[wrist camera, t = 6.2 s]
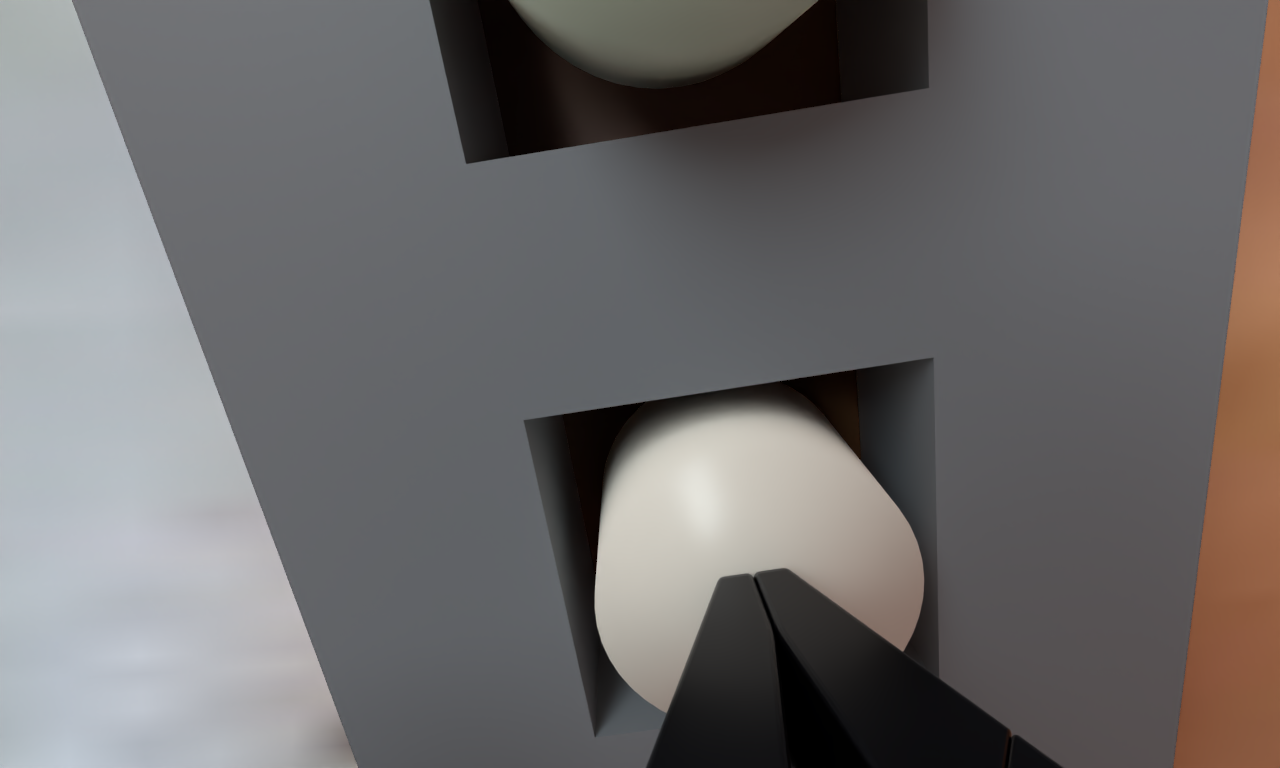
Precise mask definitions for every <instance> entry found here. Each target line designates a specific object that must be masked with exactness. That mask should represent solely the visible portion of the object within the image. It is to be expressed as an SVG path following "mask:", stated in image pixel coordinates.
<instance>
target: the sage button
mask: <svg viewBox="0 0 1280 768" xmlns="http://www.w3.org/2000/svg"><path fill="white" fill-rule="evenodd" d="M817 1H818V0H509V2H510V3H511V5H512V6H513V8H514V9H515V10H516V12H517V13H518V15H519V16H520V18H521V19H522V20H523V21H524V22H525V23H526V25H527V26H528V27H529V28H530V29H531V30H532V31H533V33H534V34H535V35H536V36H537V37H538V38H539V39H540V40H541V41H542V42H544V43H545V44H546V45H547V46H548V47H549V48H550V49H551V50H553V51H554V52H555V53H556V54H558V55H559V56H560V57H562V58H563V59H565V60H566V61H568V62H569V63H571V64H572V65H574V66H575V67H577V68H579V69H581V70H583V71H585V72H587V73H589V74H591V75H593V76H595V77H598V78H601V79H604V80H607V81H610V82H613V83H616V84H621V85H626V86H631V87H636V88H653V89H663V88H674V87H683V86H687V85H691V84H695V83H699V82H703V81H706V80H708V79H711V78H714V77H716V76H719V75H721V74H724V73H726V72H727V71H729V70H731V69H733V68H735V67H736V66H738V65H740V64H742V63H744V62H745V61H746V60H748V59H749V58H750V57H752V56H753V55H754V54H756V53H757V52H758V51H760V50H761V49H762V48H764V47H765V46H766V45H767V44H768V43H769V42H771V41H772V40H773V39H774V38H775V37H776V36H778V35H779V34H780V33H781V32H782V31H783V30H785V29H786V28H787V27H788V26H789V25H790V24H791V23H793V22H794V21H795V20H796V19H797V18H798V17H800V16H801V15H802V14H803V13H804V12H805V11H807V10H808V9H809V8H810V7H811V6H812V5H814V4H815V3H816V2H817Z"/></svg>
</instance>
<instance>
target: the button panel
mask: <svg viewBox="0 0 1280 768" xmlns="http://www.w3.org/2000/svg"><path fill="white" fill-rule="evenodd" d="M72 2H73V4H74V7H75V10H76V12H77V15H78V18H79V20H80V23H81V26H82V28H83V31H84V34H85V36H86V39H87V42H88V44H89V47H90V50H91V52H92V55H93V58H94V60H95V63H96V66H97V69H98V71H99V74H100V77H101V79H102V82H103V85H104V87H105V90H106V93H107V95H108V98H109V101H110V103H111V106H112V109H113V111H114V114H115V117H116V119H117V122H118V125H119V127H120V130H121V133H122V136H123V138H124V141H125V144H126V146H127V149H128V152H129V154H130V157H131V160H132V162H133V165H134V168H135V170H136V173H137V176H138V178H139V181H140V184H141V186H142V189H143V192H144V194H145V197H146V200H147V202H148V205H149V208H150V211H151V213H152V216H153V219H154V221H155V224H156V227H157V229H158V232H159V235H160V237H161V240H162V243H163V245H164V248H165V251H166V253H167V256H168V259H169V261H170V264H171V267H172V269H173V272H174V275H175V278H176V280H177V283H178V286H179V288H180V291H181V294H182V296H183V299H184V302H185V304H186V307H187V310H188V312H189V315H190V318H191V320H192V323H193V326H194V328H195V331H196V334H197V336H198V339H199V342H200V345H201V347H202V350H203V353H204V355H205V358H206V361H207V363H208V366H209V369H210V371H211V374H212V377H213V379H214V382H215V385H216V387H217V390H218V393H219V395H220V398H221V401H222V403H223V406H224V409H225V411H226V414H227V417H228V420H229V422H230V425H231V428H232V430H233V433H234V436H235V438H236V441H237V444H238V446H239V449H240V452H241V454H242V457H243V460H244V462H245V465H246V468H247V470H248V473H249V476H250V478H251V481H252V484H253V487H254V489H255V492H256V495H257V497H258V500H259V503H260V505H261V508H262V511H263V513H264V516H265V519H266V521H267V524H268V527H269V529H270V532H271V535H272V537H273V540H274V543H275V545H276V548H277V551H278V553H279V556H280V559H281V562H282V564H283V567H284V570H285V572H286V575H287V578H288V580H289V583H290V586H291V588H292V591H293V594H294V596H295V599H296V602H297V604H298V607H299V610H300V612H301V615H302V618H303V620H304V623H305V626H306V629H307V631H308V634H309V637H310V639H311V642H312V645H313V647H314V650H315V653H316V655H317V658H318V661H319V663H320V666H321V669H322V671H323V674H324V677H325V679H326V682H327V685H328V687H329V690H330V693H331V696H332V698H333V701H334V704H335V706H336V709H337V712H338V714H339V717H340V720H341V722H342V725H343V728H344V730H345V733H346V736H347V738H348V741H349V744H350V746H351V749H352V752H353V754H354V757H355V760H356V762H357V765H358V768H646V765H647V763H648V760H649V758H650V755H651V752H652V750H653V747H654V745H655V742H656V739H657V737H658V734H659V732H660V729H661V726H662V724H663V721H664V719H665V716H666V713H665V712H663V711H661V710H660V709H658V708H657V707H655V706H654V705H652V704H651V703H649V702H648V701H646V700H645V699H644V698H642V697H641V696H640V695H639V694H638V693H637V692H635V691H634V690H633V689H632V688H631V687H630V686H629V685H628V684H627V682H626V681H625V680H624V679H623V678H622V677H621V676H620V675H619V673H618V672H617V670H616V669H615V667H614V665H613V664H612V662H611V661H610V659H609V657H608V655H607V653H606V651H605V649H604V647H603V644H602V642H601V638H600V635H599V631H598V628H597V623H596V615H595V582H596V577H595V572H594V567H593V562H592V557H591V552H590V547H589V542H588V538H587V533H586V528H585V523H584V518H583V513H582V508H581V503H580V498H579V494H578V489H577V484H576V479H575V474H574V469H573V464H572V459H571V454H570V450H569V445H568V440H567V435H566V430H565V425H564V420H563V415H562V414H567V413H574V412H580V411H587V410H593V409H600V408H606V407H613V406H620V405H626V404H633V403H639V402H646V401H652V400H659V399H665V398H672V397H678V396H685V395H691V394H698V393H705V392H711V391H718V390H724V389H731V388H737V387H744V386H750V385H757V384H763V383H770V382H776V381H783V380H790V379H796V378H803V377H809V376H816V375H822V374H829V373H835V372H842V371H848V370H855V369H856V376H857V394H858V412H859V430H860V448H861V462H862V463H863V464H864V465H865V467H866V468H867V469H868V470H869V472H870V473H871V474H872V475H873V477H874V478H875V479H876V480H877V482H878V483H879V484H880V485H881V487H882V488H883V489H884V490H885V492H886V493H887V494H888V495H889V497H890V498H891V499H892V500H893V502H894V503H895V504H896V505H897V507H898V508H899V509H900V511H901V512H902V514H903V515H904V517H905V518H906V520H907V521H908V523H909V525H910V527H911V529H912V531H913V533H914V536H915V538H916V540H917V542H918V546H919V550H920V553H921V557H922V562H923V571H924V593H923V601H922V606H921V611H920V615H919V618H918V621H917V624H916V627H915V629H914V632H913V634H912V636H911V638H910V640H909V642H908V644H907V646H906V648H905V650H904V651H903V652H904V653H905V654H907V655H908V656H910V657H911V658H912V659H914V660H915V661H916V662H918V663H919V664H921V665H922V666H923V667H925V668H926V669H927V670H929V671H930V672H932V673H933V674H934V675H936V676H937V677H939V678H940V679H941V680H943V681H944V682H945V683H947V684H948V685H950V686H951V687H952V688H954V689H955V690H956V691H958V692H959V693H961V694H962V695H963V696H965V697H966V698H968V699H969V700H970V701H972V702H973V703H974V704H976V705H977V706H979V707H980V708H981V709H983V710H984V711H985V712H987V713H988V714H990V715H991V716H992V717H994V718H995V719H996V720H998V721H999V722H1001V723H1002V724H1003V725H1005V726H1006V727H1008V728H1009V729H1010V730H1011V733H1012V736H1013V735H1019V736H1020V737H1022V738H1023V739H1025V740H1026V741H1027V742H1029V743H1030V744H1032V745H1033V746H1034V747H1036V748H1037V749H1038V750H1040V751H1041V752H1043V753H1044V754H1045V755H1047V756H1048V757H1049V758H1051V759H1052V760H1054V761H1055V762H1057V763H1058V764H1059V765H1061V766H1062V767H1064V768H1173V764H1174V756H1175V748H1176V740H1177V732H1178V724H1179V716H1180V708H1181V700H1182V692H1183V684H1184V676H1185V668H1186V660H1187V652H1188V643H1189V635H1190V627H1191V619H1192V611H1193V603H1194V595H1195V587H1196V579H1197V571H1198V563H1199V555H1200V547H1201V539H1202V531H1203V523H1204V515H1205V507H1206V498H1207V490H1208V482H1209V474H1210V466H1211V458H1212V450H1213V442H1214V434H1215V426H1216V418H1217V410H1218V402H1219V394H1220V386H1221V378H1222V370H1223V362H1224V354H1225V345H1226V337H1227V329H1228V321H1229V313H1230V305H1231V297H1232V289H1233V281H1234V273H1235V265H1236V257H1237V249H1238V241H1239V233H1240V225H1241V217H1242V209H1243V201H1244V192H1245V184H1246V176H1247V168H1248V160H1249V152H1250V144H1251V136H1252V128H1253V120H1254V112H1255V104H1256V96H1257V88H1258V80H1259V72H1260V64H1261V56H1262V47H1263V39H1264V31H1265V23H1266V15H1267V7H1268V0H836V17H837V35H838V53H839V71H840V89H841V103H835V104H829V105H823V106H817V107H811V108H805V109H798V110H792V111H786V112H780V113H774V114H768V115H762V116H756V117H750V118H744V119H738V120H732V121H725V122H719V123H713V124H707V125H701V126H695V127H689V128H683V129H677V130H671V131H665V132H658V133H652V134H646V135H640V136H634V137H628V138H622V139H616V140H610V141H604V142H598V143H592V144H585V145H579V146H573V147H567V148H561V149H555V150H549V151H543V152H537V153H531V154H525V155H519V156H512V157H510V156H509V151H508V147H507V142H506V137H505V132H504V127H503V122H502V117H501V112H500V107H499V103H498V98H497V93H496V88H495V83H494V78H493V73H492V68H491V63H490V59H489V54H488V49H487V44H486V39H485V34H484V29H483V24H482V19H481V15H480V10H479V5H478V0H72Z"/></svg>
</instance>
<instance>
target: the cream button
mask: <svg viewBox="0 0 1280 768" xmlns="http://www.w3.org/2000/svg"><path fill="white" fill-rule="evenodd" d="M778 568H787V569H789V570H791V571H792V572H794V573H795V574H796V575H798V576H799V577H800V578H802V579H803V580H805V581H806V582H807V583H809V584H810V585H812V586H813V587H814V588H816V589H817V590H818V591H820V592H821V593H823V594H824V595H825V596H827V597H828V598H829V599H831V600H832V601H834V602H835V603H836V604H838V605H839V606H841V607H842V608H843V609H845V610H846V611H847V612H849V613H850V614H852V615H853V616H854V617H856V618H857V619H858V620H860V621H861V622H863V623H864V624H865V625H867V626H868V627H869V628H871V629H872V630H874V631H875V632H876V633H878V634H879V635H881V636H882V637H883V638H885V639H886V640H887V641H889V642H890V643H892V644H893V645H894V646H896V647H897V648H898V649H900V650H901V651H904V650H905V648H906V646H907V644H908V642H909V640H910V638H911V636H912V634H913V632H914V629H915V627H916V624H917V621H918V618H919V615H920V611H921V606H922V601H923V593H924V571H923V562H922V557H921V553H920V550H919V546H918V542H917V540H916V538H915V536H914V533H913V531H912V529H911V527H910V525H909V523H908V521H907V520H906V518H905V517H904V515H903V514H902V512H901V511H900V509H899V508H898V507H897V505H896V504H895V503H894V502H893V500H892V499H891V498H890V497H889V495H888V494H887V493H886V492H885V490H884V489H883V488H882V487H881V485H880V484H879V483H878V482H877V480H876V479H875V478H874V477H873V475H872V474H871V473H870V472H869V470H868V469H867V468H866V467H865V465H864V464H863V463H862V462H861V460H860V459H859V458H858V457H857V455H856V454H855V453H854V452H853V450H852V449H851V448H850V447H849V445H848V444H847V443H846V442H845V440H844V439H843V438H842V437H841V435H840V434H839V433H838V432H837V430H836V429H835V428H834V427H833V425H832V424H831V423H830V422H829V420H828V419H827V418H826V417H825V415H824V414H823V413H822V412H821V411H820V410H819V409H818V408H817V407H816V405H814V404H813V403H812V402H811V401H810V400H809V399H807V398H806V397H805V396H804V395H802V394H801V393H799V392H797V391H796V390H794V389H793V388H791V387H789V386H787V385H785V384H783V383H780V382H778V381H776V382H770V383H763V384H757V385H750V386H744V387H737V388H731V389H724V390H718V391H711V392H705V393H698V394H691V395H685V396H678V397H672V398H665V399H659V400H652V401H647V402H645V403H644V404H643V405H642V406H641V407H640V408H638V409H637V410H636V411H635V412H634V414H633V415H632V416H631V417H630V418H629V419H628V420H627V421H626V423H625V424H624V426H623V427H622V429H621V430H620V432H619V433H618V435H617V436H616V438H615V440H614V442H613V444H612V447H611V449H610V451H609V454H608V457H607V461H606V464H605V469H604V475H603V485H602V499H601V513H600V527H599V541H598V554H597V568H596V582H595V615H596V623H597V628H598V631H599V635H600V638H601V642H602V644H603V647H604V649H605V651H606V653H607V655H608V657H609V659H610V661H611V662H612V664H613V665H614V667H615V669H616V670H617V672H618V673H619V675H620V676H621V677H622V678H623V679H624V680H625V681H626V682H627V684H628V685H629V686H630V687H631V688H632V689H633V690H634V691H635V692H637V693H638V694H639V695H640V696H641V697H642V698H644V699H645V700H646V701H648V702H649V703H651V704H652V705H654V706H655V707H657V708H658V709H660V710H661V711H663V712H665V713H667V711H668V708H669V706H670V703H671V700H672V698H673V695H674V693H675V690H676V687H677V685H678V682H679V680H680V677H681V674H682V672H683V669H684V667H685V664H686V661H687V659H688V656H689V654H690V651H691V648H692V646H693V643H694V641H695V638H696V635H697V633H698V630H699V628H700V625H701V622H702V620H703V617H704V615H705V612H706V610H707V607H708V604H709V602H710V599H711V597H712V594H713V591H714V589H715V586H716V584H717V581H718V579H719V578H721V577H724V576H731V575H738V574H745V573H749V574H751V575H752V576H753V577H754V575H755V573H756V572H759V571H765V570H772V569H778Z"/></svg>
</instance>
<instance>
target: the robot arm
mask: <svg viewBox="0 0 1280 768" xmlns="http://www.w3.org/2000/svg"><path fill="white" fill-rule="evenodd" d="M646 768H1064V767H1062V766H1061V765H1059V764H1058V763H1057V762H1055V761H1054V760H1052V759H1051V758H1049V757H1048V756H1047V755H1045V754H1044V753H1043V752H1041V751H1040V750H1038V749H1037V748H1036V747H1034V746H1033V745H1032V744H1030V743H1029V742H1027V741H1026V740H1025V739H1023V738H1022V737H1020V736H1019V735H1013V736H1012V733H1011V730H1010V729H1009V728H1008V727H1006V726H1005V725H1003V724H1002V723H1001V722H999V721H998V720H996V719H995V718H994V717H992V716H991V715H990V714H988V713H987V712H985V711H984V710H983V709H981V708H980V707H979V706H977V705H976V704H974V703H973V702H972V701H970V700H969V699H968V698H966V697H965V696H963V695H962V694H961V693H959V692H958V691H956V690H955V689H954V688H952V687H951V686H950V685H948V684H947V683H945V682H944V681H943V680H941V679H940V678H939V677H937V676H936V675H934V674H933V673H932V672H930V671H929V670H927V669H926V668H925V667H923V666H922V665H921V664H919V663H918V662H916V661H915V660H914V659H912V658H911V657H910V656H908V655H907V654H905V653H904V652H903V651H901V650H900V649H898V648H897V647H896V646H894V645H893V644H892V643H890V642H889V641H887V640H886V639H885V638H883V637H882V636H881V635H879V634H878V633H876V632H875V631H874V630H872V629H871V628H869V627H868V626H867V625H865V624H864V623H863V622H861V621H860V620H858V619H857V618H856V617H854V616H853V615H852V614H850V613H849V612H847V611H846V610H845V609H843V608H842V607H841V606H839V605H838V604H836V603H835V602H834V601H832V600H831V599H829V598H828V597H827V596H825V595H824V594H823V593H821V592H820V591H818V590H817V589H816V588H814V587H813V586H812V585H810V584H809V583H807V582H806V581H805V580H803V579H802V578H800V577H799V576H798V575H796V574H795V573H794V572H792V571H791V570H789V569H787V568H778V569H772V570H765V571H759V572H756V573H755V575H754V577H753V576H752V575H751V574H749V573H745V574H738V575H731V576H724V577H721V578H719V579H718V581H717V584H716V586H715V589H714V591H713V594H712V597H711V599H710V602H709V604H708V607H707V610H706V612H705V615H704V617H703V620H702V622H701V625H700V628H699V630H698V633H697V635H696V638H695V641H694V643H693V646H692V648H691V651H690V654H689V656H688V659H687V661H686V664H685V667H684V669H683V672H682V674H681V677H680V680H679V682H678V685H677V687H676V690H675V693H674V695H673V698H672V700H671V703H670V706H669V708H668V711H667V713H666V716H665V719H664V721H663V724H662V726H661V729H660V732H659V734H658V737H657V739H656V742H655V745H654V747H653V750H652V752H651V755H650V758H649V760H648V763H647V765H646Z"/></svg>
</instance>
